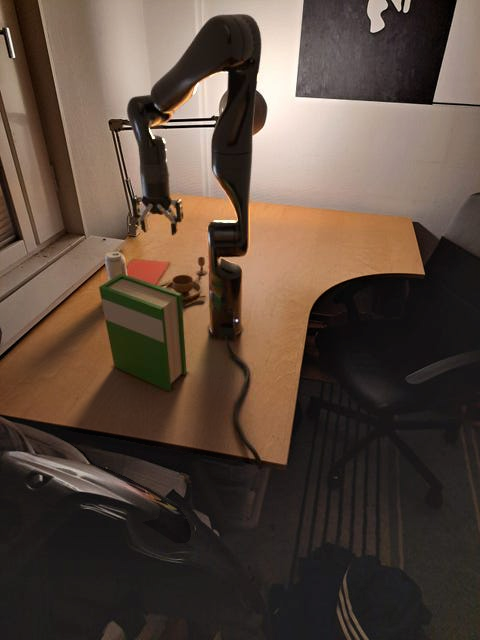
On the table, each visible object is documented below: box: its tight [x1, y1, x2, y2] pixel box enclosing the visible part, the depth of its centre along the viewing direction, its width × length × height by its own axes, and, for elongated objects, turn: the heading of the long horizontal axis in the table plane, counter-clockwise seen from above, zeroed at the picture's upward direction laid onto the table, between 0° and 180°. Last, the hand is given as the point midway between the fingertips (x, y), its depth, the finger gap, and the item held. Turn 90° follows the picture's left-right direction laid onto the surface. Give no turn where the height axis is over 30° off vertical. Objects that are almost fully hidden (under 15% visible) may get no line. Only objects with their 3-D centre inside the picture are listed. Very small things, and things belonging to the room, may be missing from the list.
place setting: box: [159, 256, 207, 307], centre depth 141 cm, size 18×20×6 cm
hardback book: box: [98, 274, 187, 392], centre depth 102 cm, size 18×7×24 cm, turn 61°
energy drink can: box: [104, 250, 127, 282], centre depth 134 cm, size 6×6×15 cm
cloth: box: [126, 259, 170, 285], centre depth 150 cm, size 20×14×1 cm
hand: (160, 232), depth 124 cm, fingers open, 8 cm apart
